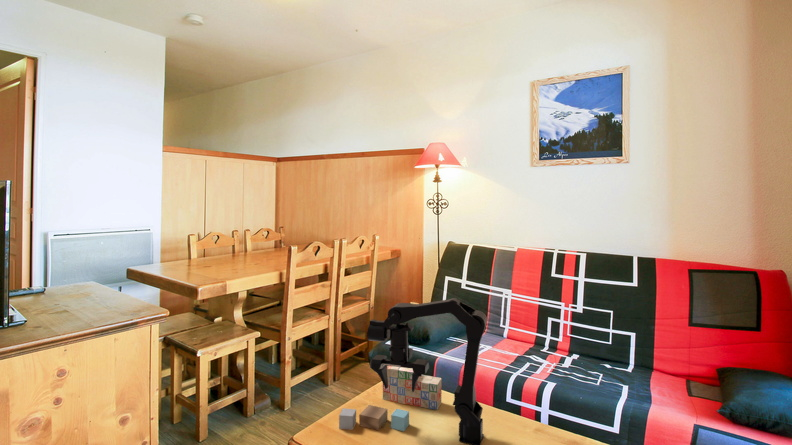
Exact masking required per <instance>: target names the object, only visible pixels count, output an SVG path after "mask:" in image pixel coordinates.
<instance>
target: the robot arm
mask: <svg viewBox="0 0 792 445" xmlns="http://www.w3.org/2000/svg"><path fill="white" fill-rule="evenodd" d="M445 314H451V315H453V316H454V317H455V318H456V320H457V321H459V323H461V324H462V325H463V326H465V335H466V341H467V343H466V352H465V358H464V365H463V372H462V380H461V385H460V384H456V388H455V389H454V394H453V395H454V400H453V403H452V406H454V412H455V413H456V414H457V415H458V416H459V419H460V421H459V423H458V436H459V438H458V441H459V442H460V443H465V444H469V445H481V444H482V441H483V439H484V436H485V433H483V432H484V431H483V430H484V429H483V428H484V424H483V423H484V421H483V420H484V418H482V413H483V410H484V409H483V408H484V407H483V406H482V405H481V404H480V403H479V402H478V401H477V395H476V394H477V392H476V386H475V382H476V374H477V367H478V362H479V361H478V360H479V354H480V345H481V340H482V337H483V335H484V332H485V330H486V326H487V323H488V317H487V315H486V314H485V312H483V311H481V310H479V309H478V310H476V308H474V307H472V306H470V305H468V304H466V303H465V302H462V301H461V300H459V298H456V297H452V298H449V299H442V300H436V301H428V302H424V303H410V302H398V303H396V304H395V305H394V306H391V307H390V308H389V310H388V312H387V317H386V318H385V320H378V319H371V320H370V321H369V325H368V328H367V331H366V338H367V340H368V341H369V342H370V341H372V342H381V343H385V342H387V340H389V339H390V341H389V342H390V346H389V347H388V348H389V350H388V351H389V352H390V359H388V356H387V355H384V354H383V355H382V354H376V355H375V356H374V357H373V358H372V359H370V361H369V362H370V363H369V368H370V369H371V370H373V371H374V372H376V373H377V375H378V377H379V378H380V380H381V382H382V385H383V384H384V386H385V388H386V389H387V388H388V378H387V366H395V367H404V368H413V374H412V392H414V390H415V387H416V384H417V381H418V378H419V377H420V376H422V375H426V374H427V372H428V370H429V369H430V363H429V360H428V359H422V358H421V359H420V358H417V359H416V360H415V361H410V360H411V359H412V358H413V349H414V348H413V347H410V345H409V341H408V335H409V334H408V332H412V331H413V329H415V326H413V325H412V324H411V323H410V321H411V320H414V319H418V318H424V317H430V316H437V315H445Z"/></svg>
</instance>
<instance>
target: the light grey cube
mask: <svg viewBox="0 0 792 445" xmlns="http://www.w3.org/2000/svg"><path fill="white" fill-rule="evenodd" d="M356 424H357V409H356V408H342V409H341V411H340V413H339V415H338V429H339V430H350V431H351V430H352V431H353V430H354V428H355V425H356Z"/></svg>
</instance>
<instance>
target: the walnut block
mask: <svg viewBox="0 0 792 445" xmlns="http://www.w3.org/2000/svg"><path fill="white" fill-rule="evenodd" d="M358 418H359V420H358V422H359V424H358V425H359V427H363V428H368V429H371V430H376V431H380V430H381V428H383V426H384V424H386V422H388V408H384V407H381V406H377V405H371V404H368V405H367V406H366V407H365V408H364V409H363V410H362V411H361V412H360V413H359V415H358Z"/></svg>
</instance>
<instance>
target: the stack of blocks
mask: <svg viewBox="0 0 792 445" xmlns="http://www.w3.org/2000/svg"><path fill="white" fill-rule="evenodd" d="M412 374H413V368H404V367H395V366H387V378H388V388H387V389H386V388H385V386H384V384H383V383H382V400H385V401H389V402H394V403H398V404H404V405H405V404H406V405H410V406H415V407H421V408H425V409H430V410H436V411H437V410H438V409H439V407H440V406H441V404H442V382H443V381H442V378H441V377H438V376H437V377H436V376H431V375H426V374H422V376H420V377H419V378H418V381H417V384H416V387H415V390H414V392H412Z"/></svg>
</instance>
